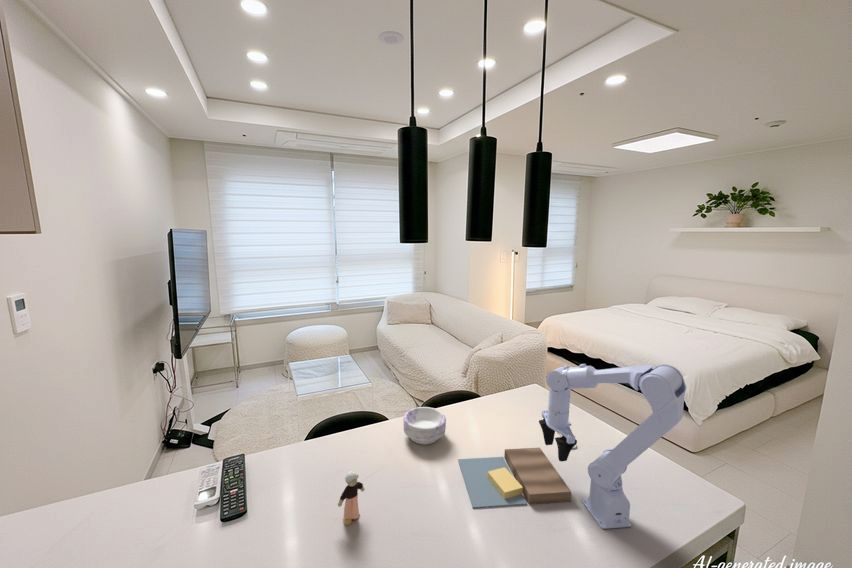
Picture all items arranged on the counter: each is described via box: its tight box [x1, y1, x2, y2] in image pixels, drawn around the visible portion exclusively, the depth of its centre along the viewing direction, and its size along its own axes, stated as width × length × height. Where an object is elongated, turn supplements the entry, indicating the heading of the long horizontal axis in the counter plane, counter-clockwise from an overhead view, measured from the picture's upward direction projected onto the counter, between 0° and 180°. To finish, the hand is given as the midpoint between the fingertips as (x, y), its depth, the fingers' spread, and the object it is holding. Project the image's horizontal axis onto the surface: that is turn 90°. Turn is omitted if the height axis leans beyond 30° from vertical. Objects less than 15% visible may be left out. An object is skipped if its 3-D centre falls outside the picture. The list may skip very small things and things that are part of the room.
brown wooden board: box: [503, 447, 572, 505], centre depth 103 cm, size 20×12×3 cm, turn 6°
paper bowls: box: [403, 406, 447, 445], centre depth 123 cm, size 15×15×8 cm
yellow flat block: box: [487, 467, 524, 499], centre depth 99 cm, size 9×6×2 cm, turn 20°
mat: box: [457, 456, 528, 510], centre depth 102 cm, size 20×15×1 cm
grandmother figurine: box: [337, 470, 365, 526], centre depth 87 cm, size 8×4×13 cm, turn 148°
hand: (555, 452), depth 101 cm, fingers open, 7 cm apart
